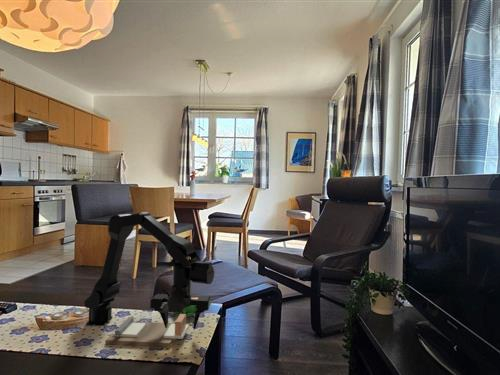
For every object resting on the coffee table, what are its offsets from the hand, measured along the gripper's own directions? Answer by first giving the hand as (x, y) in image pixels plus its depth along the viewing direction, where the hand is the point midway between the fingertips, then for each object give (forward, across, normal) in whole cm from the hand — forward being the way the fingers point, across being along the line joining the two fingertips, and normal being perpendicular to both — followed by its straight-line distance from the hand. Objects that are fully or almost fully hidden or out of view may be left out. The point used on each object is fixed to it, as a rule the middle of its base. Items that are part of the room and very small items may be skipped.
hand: (180, 328), depth 97 cm
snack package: (+3, -4, +18) cm, 19 cm away
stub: (+1, -1, 0) cm, 2 cm away
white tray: (+2, -16, 0) cm, 17 cm away
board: (+3, -12, 0) cm, 12 cm away
